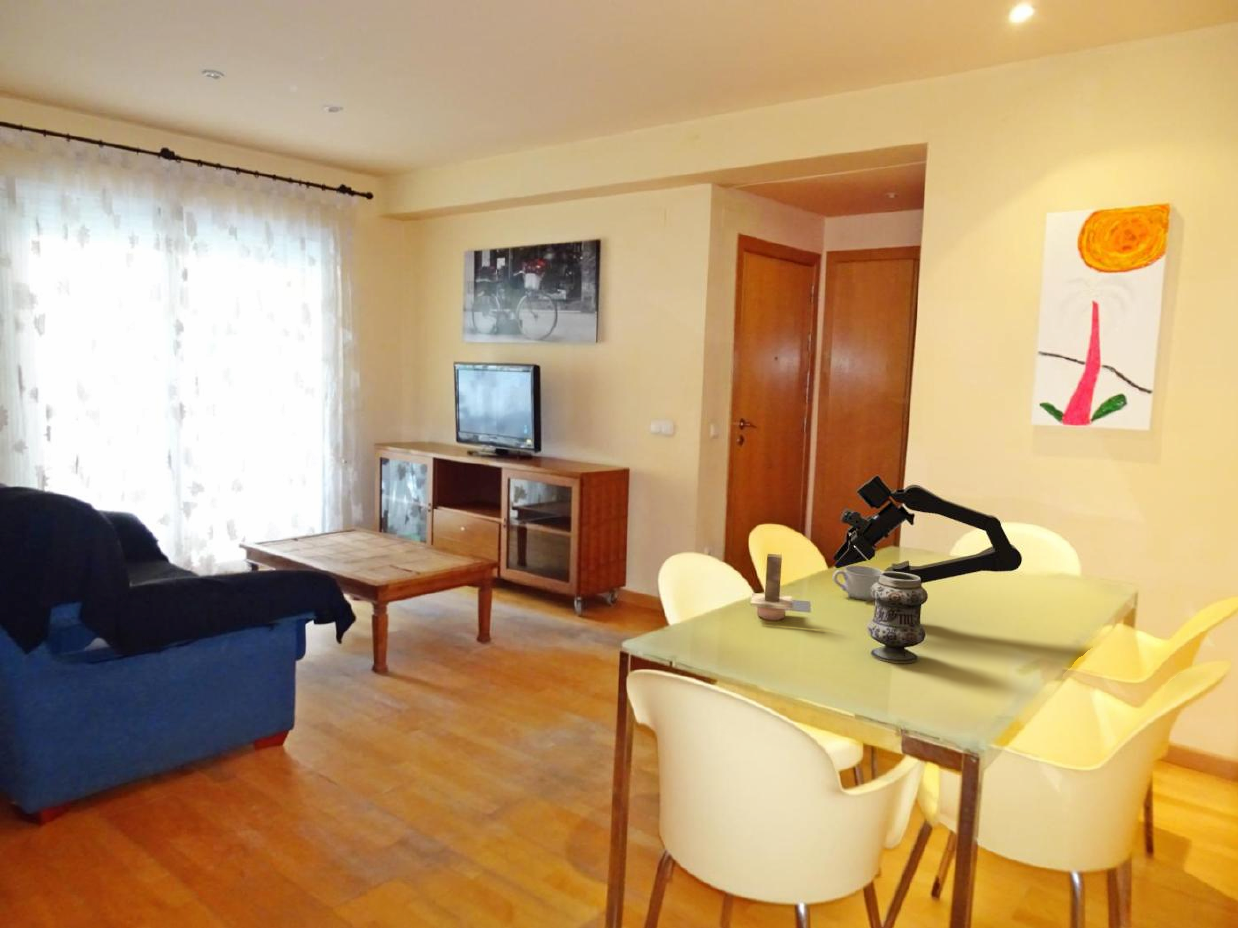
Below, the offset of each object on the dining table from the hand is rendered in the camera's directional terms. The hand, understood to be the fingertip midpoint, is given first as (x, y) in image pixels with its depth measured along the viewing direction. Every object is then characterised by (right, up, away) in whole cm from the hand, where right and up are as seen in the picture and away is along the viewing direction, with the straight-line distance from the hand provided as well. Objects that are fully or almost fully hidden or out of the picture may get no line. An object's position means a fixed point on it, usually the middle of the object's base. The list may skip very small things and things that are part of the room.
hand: (834, 563), depth 219 cm
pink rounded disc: (-17, -13, -3) cm, 22 cm away
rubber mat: (-10, -12, +9) cm, 18 cm away
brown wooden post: (-16, -9, -4) cm, 19 cm away
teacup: (+11, -12, +21) cm, 27 cm away
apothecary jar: (+6, -17, -29) cm, 34 cm away
